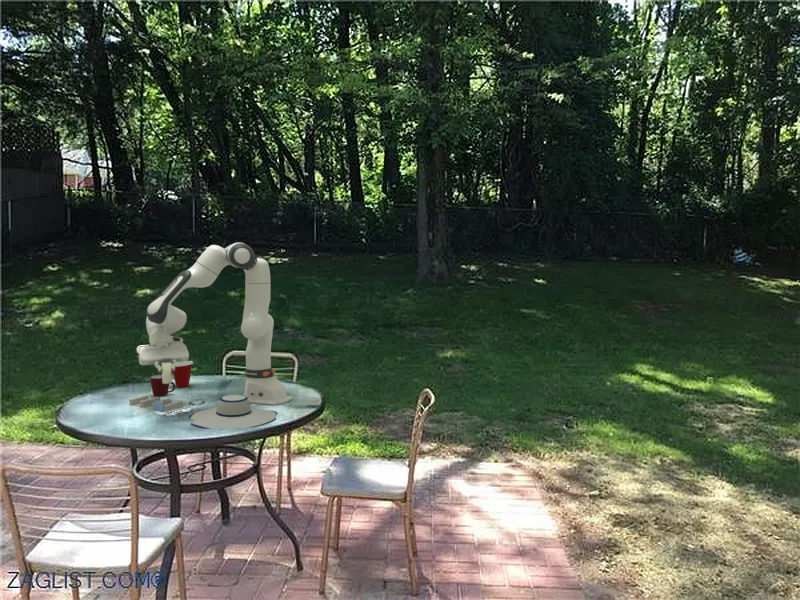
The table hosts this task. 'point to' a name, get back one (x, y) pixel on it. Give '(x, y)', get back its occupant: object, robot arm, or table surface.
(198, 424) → the sun hat
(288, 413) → the table surface
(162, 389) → the mug
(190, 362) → the plastic cup
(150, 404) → the stepped cream block
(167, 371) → the grey-capped cream cylinder
